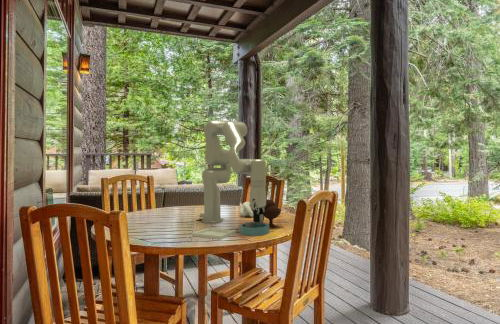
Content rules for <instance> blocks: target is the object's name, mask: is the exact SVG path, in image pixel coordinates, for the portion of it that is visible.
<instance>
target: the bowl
mask: <svg viewBox="0 0 500 324" xmlns="http://www.w3.org/2000/svg"><path fill="white" fill-rule="evenodd" d="M268 224H269V223H265V222H263V224H255V222H254V228H249V227H245V222H244V223H241V224H239V225H238V232H239V233H240V234H241V235H244V236H251V237H254V236H264V235H267V234H269V233H270V228H269V225H268Z"/></svg>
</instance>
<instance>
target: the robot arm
mask: <svg viewBox="0 0 500 324" xmlns="http://www.w3.org/2000/svg"><path fill="white" fill-rule="evenodd" d="M203 131H204V139H205V152H204V153H205V154H204V155H205V157H204V158H205V159H204V160H205V164H206V165H207V166H216V167H208V168H205V169H203V171H202V173H201V179H202V184H203V211H204V212H203V213H200V214H199V218H202V219H201V222H202V223H205V224H217V223H222V222H224V219H223V218H222V217H221V189H220V188H219V186H218V184H227V183H229V182H230V180H231V177H232V171H233V172H234V173H235V174H238V175H244V174H247V175H248V174H249V175H250V192H249V202H250V207H251V210H252V211H253V217H252V219H253V221H252V222H260V214H263V222H264V221H265V217H264V209H265V206H266V200H267V193H266V191H267V190H266V186H267V184H266V182H267V176H266V173H267V171H266V169H267V168H266V160H265V159H261V158H259V159H258V158H257V159H255V158H239V156H238V154H237V152H239V151H240V150H242V149H243V148H244V147H245V145H246V140H245V138H244V137H246V136H247V134H248V126H247V125H246V123H245V122H243V121H234V120H233V121H232V120H219V119H218V120H217V119H214V120H212V119H211V120H209V121H207V122H206V123H205V125H204V130H203ZM218 136H223V137H224V138H225V140H226V141H227V144H228V146H229V150H228V149H222V148H221V139H220V138H219V137H218ZM217 166H219V167H217ZM256 209H257V210H256Z"/></svg>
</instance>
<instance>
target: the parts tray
mask: <svg viewBox="0 0 500 324" xmlns="http://www.w3.org/2000/svg"><path fill="white" fill-rule="evenodd" d="M235 234H236V235H237V230H235V229H227V228H216V227H207V228H204V229H201V230H198V231H195V232H192V237H195V238H206V239H213V240H223V239H226V238H228V237H230V236H233V235H235Z"/></svg>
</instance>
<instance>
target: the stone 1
mask: <svg viewBox="0 0 500 324" xmlns="http://www.w3.org/2000/svg"><path fill="white" fill-rule="evenodd" d="M244 223H245V227H249V228H254V222H253V221H250V220H249V221H246V222H245V221H244Z"/></svg>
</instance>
